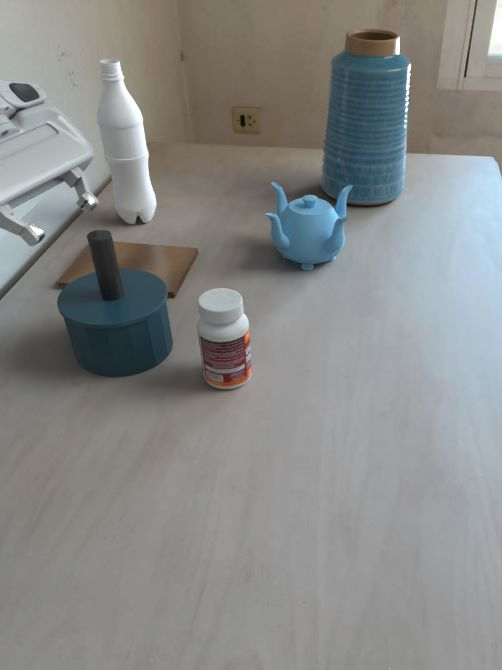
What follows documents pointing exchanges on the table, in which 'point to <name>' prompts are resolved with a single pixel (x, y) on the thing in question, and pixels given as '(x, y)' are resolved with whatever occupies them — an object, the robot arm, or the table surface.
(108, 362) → the pot
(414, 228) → the table surface
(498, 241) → the table surface
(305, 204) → the teapot
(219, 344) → the pill bottle
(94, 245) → the lid
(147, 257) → the mat
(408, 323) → the table surface
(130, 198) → the water bottle
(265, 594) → the table surface
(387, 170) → the vase
